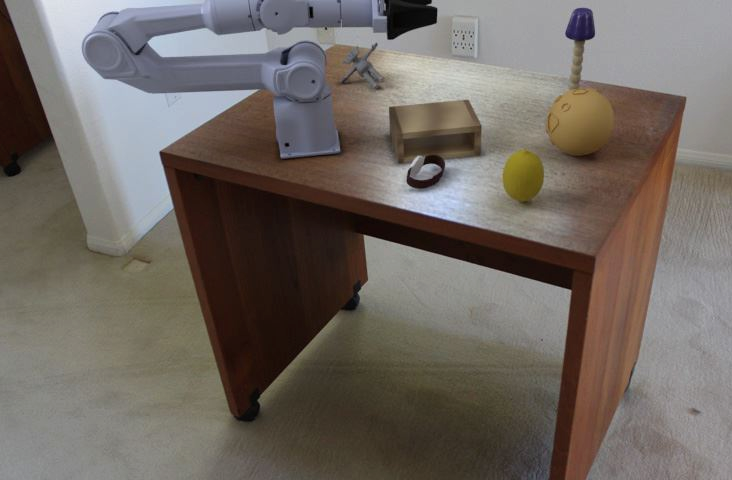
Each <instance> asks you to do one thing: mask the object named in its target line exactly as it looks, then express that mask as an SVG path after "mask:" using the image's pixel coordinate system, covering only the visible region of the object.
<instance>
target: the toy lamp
mask: <svg viewBox="0 0 732 480" xmlns="http://www.w3.org/2000/svg"><path fill="white" fill-rule="evenodd" d="M564 36H565V37H566V38H567V39H569V40H572V41H573V44H574V47H573V49H572V52H573V55H572V58H571V62H572V65H571V67H570V75H569V81H570V82H569V83H568V91H570V90H573V89H578V88H581V87H580V86H581V85H580V81H581V79H582V75H581V73H582V70H583V65H582V64H583V62H584V56H583V55H584V53H585V44H586V41H590V40H593V38H595V36H596V25H595V19H594V13H593V10H592V9H591V8H589V7H577V8H575V9H573V11H572V13H571V15H570V17H569V21H568V24H567V26H566V29H565V35H564Z"/></svg>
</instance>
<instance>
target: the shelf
mask: <svg viewBox="0 0 732 480" xmlns="http://www.w3.org/2000/svg"><path fill="white" fill-rule="evenodd" d="M388 117H389V119H388V121H389V135H390V140H391V144H392V147H393V151H394V156H395V159H396V161H397V164H407V163H412V162H413V161H414V159H415V158H416V157H418V156H422V157H423V158H424V157H426V156H428V155H438V156H440V157H442V158H443V159H444V160H445V159H447V160H448V159H455V158H458V159H459V158H466V157H478V156H481V155H482V130H483V129H482V126H483V125H482V123H481V121H480V120H479V117H478V115H477V114H476V111H475V109H474V107H473V105H472V104H471V102H470V100H469V99H457V100H447V101H438V102H426V103H417V104H416V103H415V104H406V105H394V106H388Z"/></svg>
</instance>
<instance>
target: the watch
mask: <svg viewBox="0 0 732 480" xmlns="http://www.w3.org/2000/svg"><path fill="white" fill-rule="evenodd" d="M426 165H436V166H438V167H439V168H440V171H439V172H438V173H437V174H435V175H432V177H430V178H427V179H416V178H413V177H416V176H417V175H418V174H419V173H420V171H421V169H422V168H423V167H424V166H426ZM445 168H446V161H445V159H443V158H442V157H440V156H438V155H428V156H426V157H424V158H423V157H422V156H418V157H416V158H415V159H414V161H413V162H411V164H410V166H409V168H408V170H407V175H406V184H407V185H408V186H409V187H410V188H412V189H416V190H423V189H428V188H430V187H433V186H436V185H437V184H438V183H440V181H441V179H442V177H443V176H444V172H445Z"/></svg>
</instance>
